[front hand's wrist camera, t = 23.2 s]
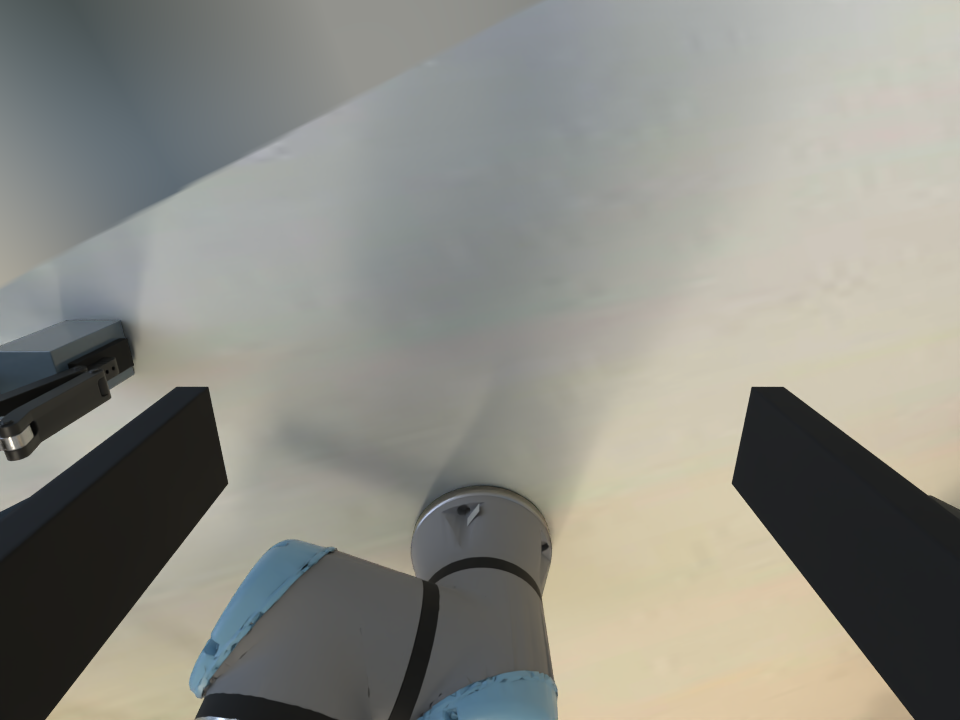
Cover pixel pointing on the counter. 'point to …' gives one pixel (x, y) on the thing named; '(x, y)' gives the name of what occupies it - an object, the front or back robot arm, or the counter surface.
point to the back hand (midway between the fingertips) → (95, 352)
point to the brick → (56, 351)
